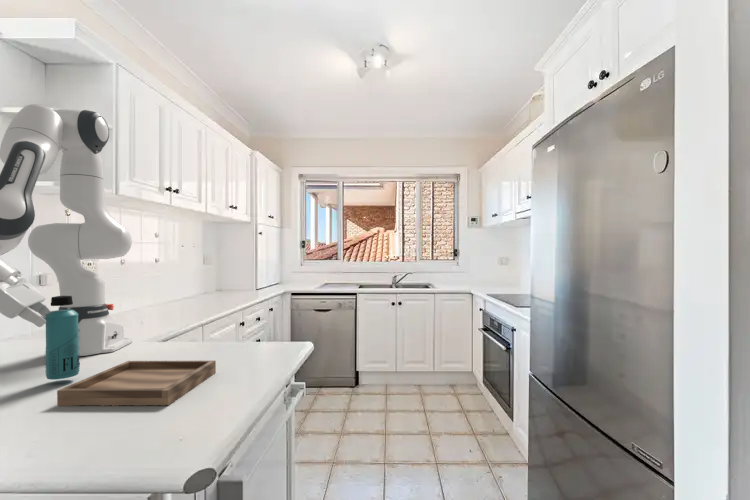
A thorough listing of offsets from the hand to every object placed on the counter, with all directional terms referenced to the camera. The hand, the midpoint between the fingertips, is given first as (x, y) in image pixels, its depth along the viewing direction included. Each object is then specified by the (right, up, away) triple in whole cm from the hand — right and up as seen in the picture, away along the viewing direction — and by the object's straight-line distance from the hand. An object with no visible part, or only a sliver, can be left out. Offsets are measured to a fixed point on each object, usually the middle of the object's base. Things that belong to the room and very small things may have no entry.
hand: (48, 321), depth 95 cm
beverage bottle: (+2, -14, +1) cm, 15 cm away
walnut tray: (+24, -14, -4) cm, 28 cm away
